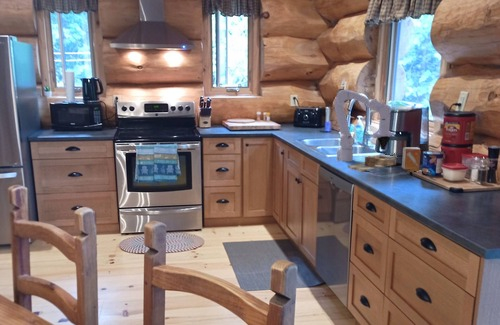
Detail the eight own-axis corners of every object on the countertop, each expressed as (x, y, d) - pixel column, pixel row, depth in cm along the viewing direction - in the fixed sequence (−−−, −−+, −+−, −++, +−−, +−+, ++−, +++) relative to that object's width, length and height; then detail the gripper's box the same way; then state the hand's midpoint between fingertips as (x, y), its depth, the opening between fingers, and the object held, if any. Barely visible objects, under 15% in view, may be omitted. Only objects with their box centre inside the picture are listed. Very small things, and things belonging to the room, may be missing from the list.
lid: (378, 156, 266) (379, 151, 265) (387, 154, 269) (387, 150, 269) (389, 158, 259) (389, 153, 259) (397, 156, 263) (398, 152, 262)
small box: (404, 172, 247) (405, 148, 245) (401, 169, 254) (402, 146, 251) (419, 172, 247) (420, 149, 244) (416, 169, 253) (417, 147, 250)
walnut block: (364, 168, 258) (365, 156, 257) (369, 167, 261) (370, 156, 259) (369, 169, 255) (370, 158, 254) (374, 168, 257) (375, 157, 256)
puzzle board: (348, 168, 258) (348, 159, 257) (378, 163, 271) (379, 155, 270) (364, 172, 247) (365, 163, 246) (395, 167, 260) (396, 158, 259)
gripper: (379, 127, 252) (377, 151, 255) (399, 126, 258) (397, 149, 260) (370, 126, 258) (369, 149, 261) (390, 124, 264) (389, 147, 267)
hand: (383, 149), depth 261 cm, fingers closed
